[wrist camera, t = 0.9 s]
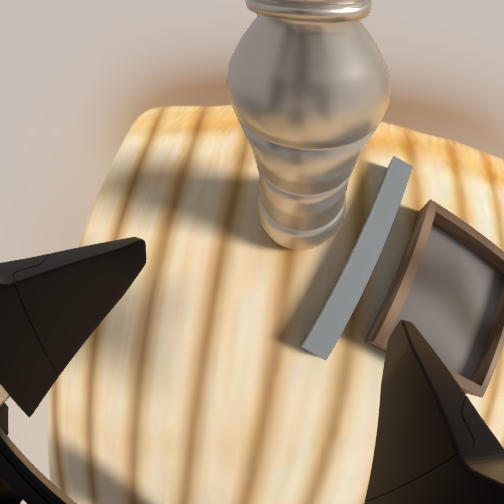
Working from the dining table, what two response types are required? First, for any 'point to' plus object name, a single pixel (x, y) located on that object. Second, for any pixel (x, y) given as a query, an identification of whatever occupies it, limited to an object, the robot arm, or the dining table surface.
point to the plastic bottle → (307, 109)
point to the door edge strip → (359, 262)
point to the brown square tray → (449, 296)
